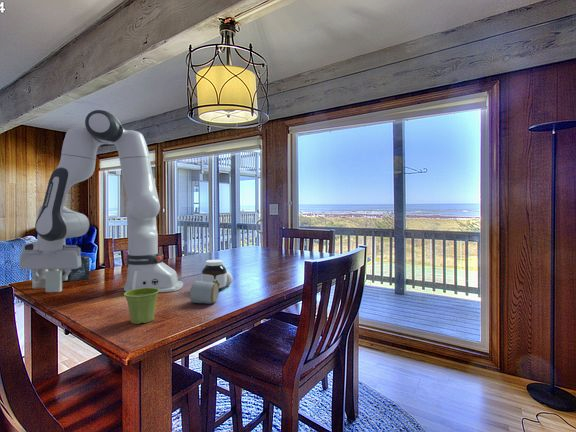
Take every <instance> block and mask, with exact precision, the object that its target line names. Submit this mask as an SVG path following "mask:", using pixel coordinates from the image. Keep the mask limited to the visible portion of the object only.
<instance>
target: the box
mask: <svg viewBox="0 0 576 432" xmlns="http://www.w3.org/2000/svg"><path fill="white" fill-rule="evenodd" d="M80 256H81V266H80V267H79V268H77V269H71V272H70V273H69V275H68V280H67V281H68V282H75V281H82V280H84V281H85V280H90V275H91V274H90V269H91V268H90V256H89V255H87V254H85V255H80Z"/></svg>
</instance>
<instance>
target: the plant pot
mask: <svg viewBox="0 0 576 432" xmlns="http://www.w3.org/2000/svg"><path fill="white" fill-rule="evenodd" d="M158 293H160V292H159V289H157V288H139V289H133V290H130V291H127V292H126V291H124V293H123V296H124V297H125V299H126V301H127V307H128V312H129V318H130V323H132V324H134V325H140V324H148V323H150V322H152V321H154V318H155V311H156V310H155V309H156V304H157V298H158Z"/></svg>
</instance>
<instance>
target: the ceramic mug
mask: <svg viewBox="0 0 576 432" xmlns="http://www.w3.org/2000/svg"><path fill="white" fill-rule="evenodd" d="M189 292H190V294H189V295H190V296H189V299H190V302H191V303H192V304H209V305H210V304H215V303H216V302H217V300H218V298H219V292H220V291H219V288H218V285H217V284H216V283H213V282H204V281H201V280H194V281H193V283H192V284H191V287H190V291H189Z"/></svg>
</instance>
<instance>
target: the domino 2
mask: <svg viewBox="0 0 576 432" xmlns="http://www.w3.org/2000/svg"><path fill="white" fill-rule="evenodd" d="M61 276H62V271H46V272H45V282H46V288H45V293H60V292H62V291H63V281H62V280H61V279H62V278H61Z"/></svg>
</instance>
